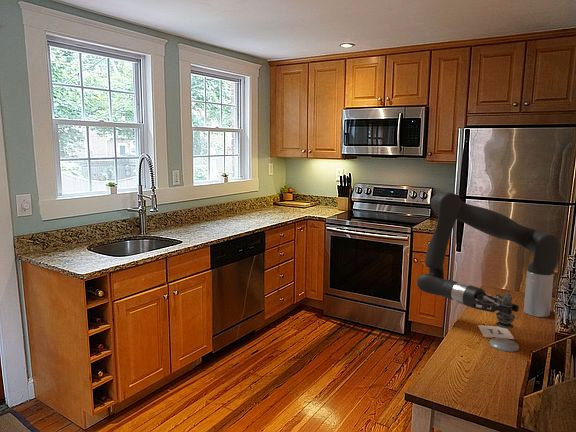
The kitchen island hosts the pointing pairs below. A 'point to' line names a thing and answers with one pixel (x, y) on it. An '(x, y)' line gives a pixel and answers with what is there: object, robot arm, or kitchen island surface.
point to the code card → (495, 332)
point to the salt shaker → (503, 317)
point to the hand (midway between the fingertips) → (514, 310)
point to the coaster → (504, 344)
